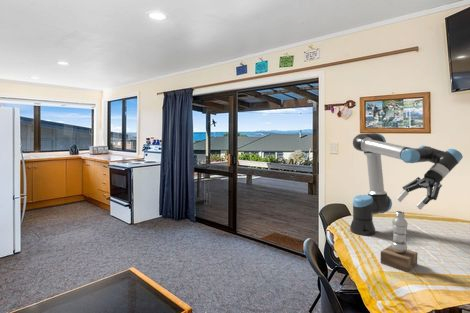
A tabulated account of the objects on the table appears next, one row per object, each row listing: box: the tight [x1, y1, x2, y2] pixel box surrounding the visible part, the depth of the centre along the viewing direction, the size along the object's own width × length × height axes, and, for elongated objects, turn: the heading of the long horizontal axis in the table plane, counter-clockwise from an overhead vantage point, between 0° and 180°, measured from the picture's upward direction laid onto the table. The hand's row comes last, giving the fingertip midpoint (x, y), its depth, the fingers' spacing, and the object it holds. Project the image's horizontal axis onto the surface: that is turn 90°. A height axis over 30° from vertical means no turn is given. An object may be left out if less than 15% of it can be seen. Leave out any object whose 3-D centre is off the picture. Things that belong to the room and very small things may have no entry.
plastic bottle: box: [391, 210, 409, 253], centre depth 134 cm, size 6×7×20 cm
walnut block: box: [380, 244, 419, 273], centre depth 135 cm, size 12×12×6 cm
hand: (407, 203), depth 141 cm, fingers open, 13 cm apart
